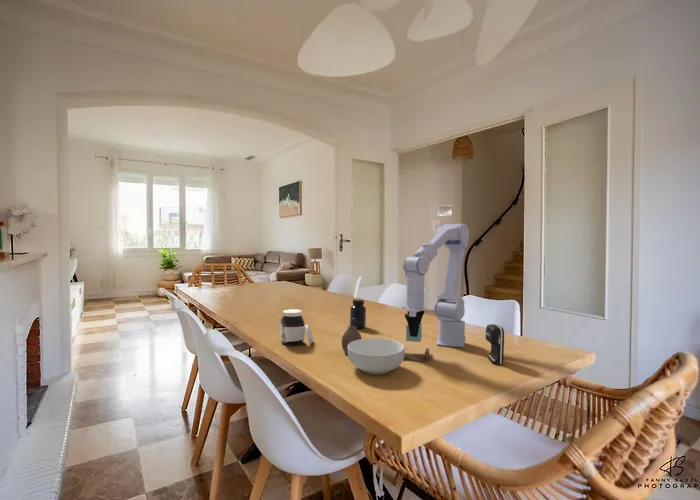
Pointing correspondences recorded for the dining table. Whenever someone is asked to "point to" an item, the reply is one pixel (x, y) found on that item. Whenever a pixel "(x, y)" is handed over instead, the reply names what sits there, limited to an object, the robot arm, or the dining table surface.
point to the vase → (350, 337)
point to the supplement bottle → (358, 314)
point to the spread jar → (294, 328)
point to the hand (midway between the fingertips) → (414, 334)
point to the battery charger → (495, 343)
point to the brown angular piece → (417, 356)
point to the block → (414, 339)
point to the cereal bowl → (376, 354)
